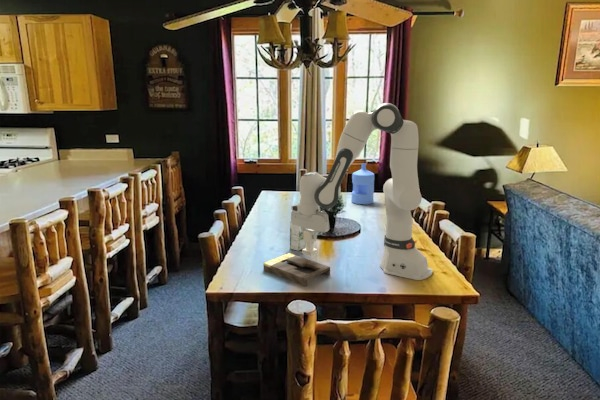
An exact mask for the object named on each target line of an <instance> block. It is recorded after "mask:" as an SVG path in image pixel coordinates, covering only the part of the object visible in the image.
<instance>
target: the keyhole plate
mask: <svg viewBox="0 0 600 400" xmlns="http://www.w3.org/2000/svg"><path fill="white" fill-rule="evenodd" d="M286 262H287V263H286ZM289 263H290V264H289ZM292 264H293V265H292ZM262 266H263V271H265V272H267V273H269V274H272V275H274V276H277V277H280V278H283V279H285V280H288V281H290V282H292V283H295V284H298V285H300V286H301V287H302V286H303V287H308V281H309V280H310V279H312V278H313V279H314V278H315V277H317V276H318V275H321V274H324V275H327V276H330V275H331V266H329V265H326V264H324V263H323V264H322V263H320V262H316V261H314V260H312V259H307V258H305V257H302V256H299V255H296V254H293V253H290V252H288V253H284V254H283V255H280V256H277V257H274V258H273V259H270V260H267V261H265V262H263V265H262ZM297 266H299V267H301V268H308V269H309V270H310V269H311V270H313V271H312V272H310V273H306V272H303V271H301V270H298V267H297Z"/></svg>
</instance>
